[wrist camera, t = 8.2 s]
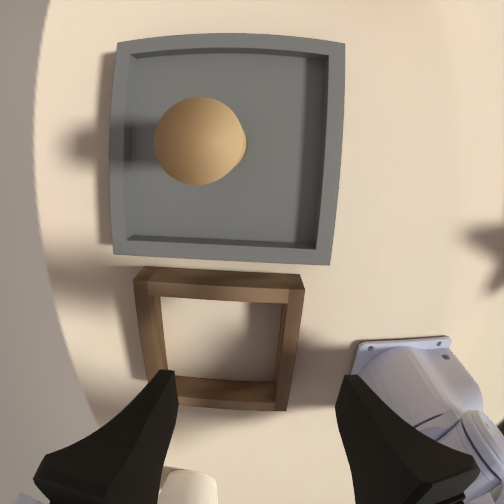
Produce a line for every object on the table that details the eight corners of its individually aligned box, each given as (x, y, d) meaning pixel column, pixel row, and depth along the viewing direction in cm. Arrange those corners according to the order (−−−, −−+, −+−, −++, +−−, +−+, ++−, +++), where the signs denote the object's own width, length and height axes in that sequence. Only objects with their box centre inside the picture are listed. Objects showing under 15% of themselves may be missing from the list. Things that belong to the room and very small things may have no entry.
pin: (248, 121, 18) (245, 96, 9) (246, 169, 19) (241, 186, 10) (199, 120, 18) (155, 98, 9) (197, 168, 19) (153, 184, 10)
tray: (337, 52, 17) (345, 43, 15) (323, 255, 21) (329, 265, 19) (128, 50, 17) (117, 42, 15) (124, 245, 21) (113, 254, 19)
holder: (299, 274, 22) (304, 289, 19) (284, 390, 25) (286, 411, 23) (145, 266, 22) (133, 279, 19) (159, 381, 25) (151, 400, 23)
